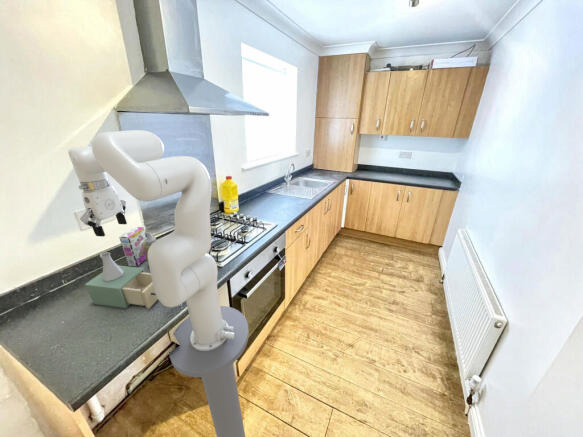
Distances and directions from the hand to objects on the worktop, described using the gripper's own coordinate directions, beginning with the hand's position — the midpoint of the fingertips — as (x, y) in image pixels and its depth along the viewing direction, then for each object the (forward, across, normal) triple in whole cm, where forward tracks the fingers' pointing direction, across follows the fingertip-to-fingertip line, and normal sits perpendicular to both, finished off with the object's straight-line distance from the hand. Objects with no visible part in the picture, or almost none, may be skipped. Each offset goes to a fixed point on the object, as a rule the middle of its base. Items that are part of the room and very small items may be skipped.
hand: (112, 229), depth 86 cm
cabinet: (+29, -3, +3) cm, 29 cm away
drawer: (+28, -3, -10) cm, 30 cm away
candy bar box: (+29, +21, +14) cm, 38 cm away
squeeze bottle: (+29, +18, +3) cm, 35 cm away
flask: (+20, -3, +4) cm, 20 cm away
